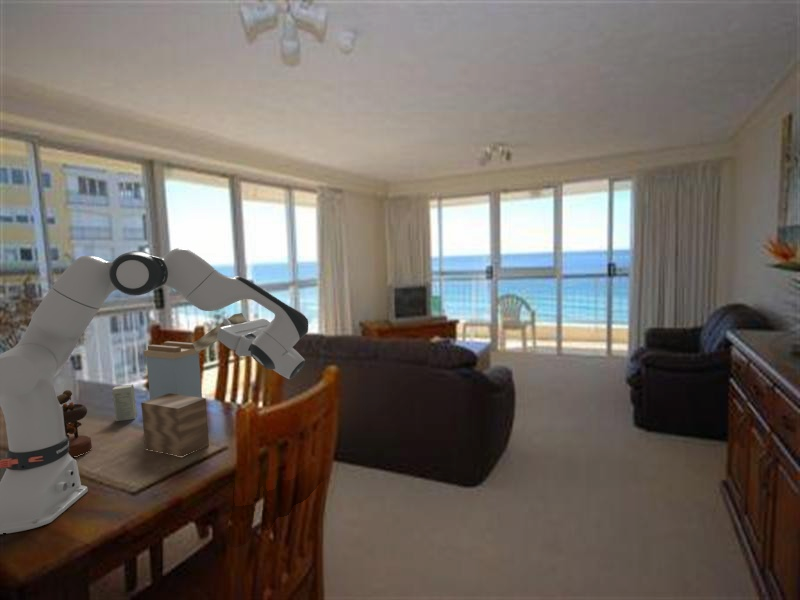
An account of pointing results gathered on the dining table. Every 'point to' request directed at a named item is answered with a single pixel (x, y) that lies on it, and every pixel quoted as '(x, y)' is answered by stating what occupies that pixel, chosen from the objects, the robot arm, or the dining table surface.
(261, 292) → the robot arm
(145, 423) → the brown wood grain block
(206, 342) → the light wood bar
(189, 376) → the chest
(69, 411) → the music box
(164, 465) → the dining table surface
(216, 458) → the dining table surface
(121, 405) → the skincare box
